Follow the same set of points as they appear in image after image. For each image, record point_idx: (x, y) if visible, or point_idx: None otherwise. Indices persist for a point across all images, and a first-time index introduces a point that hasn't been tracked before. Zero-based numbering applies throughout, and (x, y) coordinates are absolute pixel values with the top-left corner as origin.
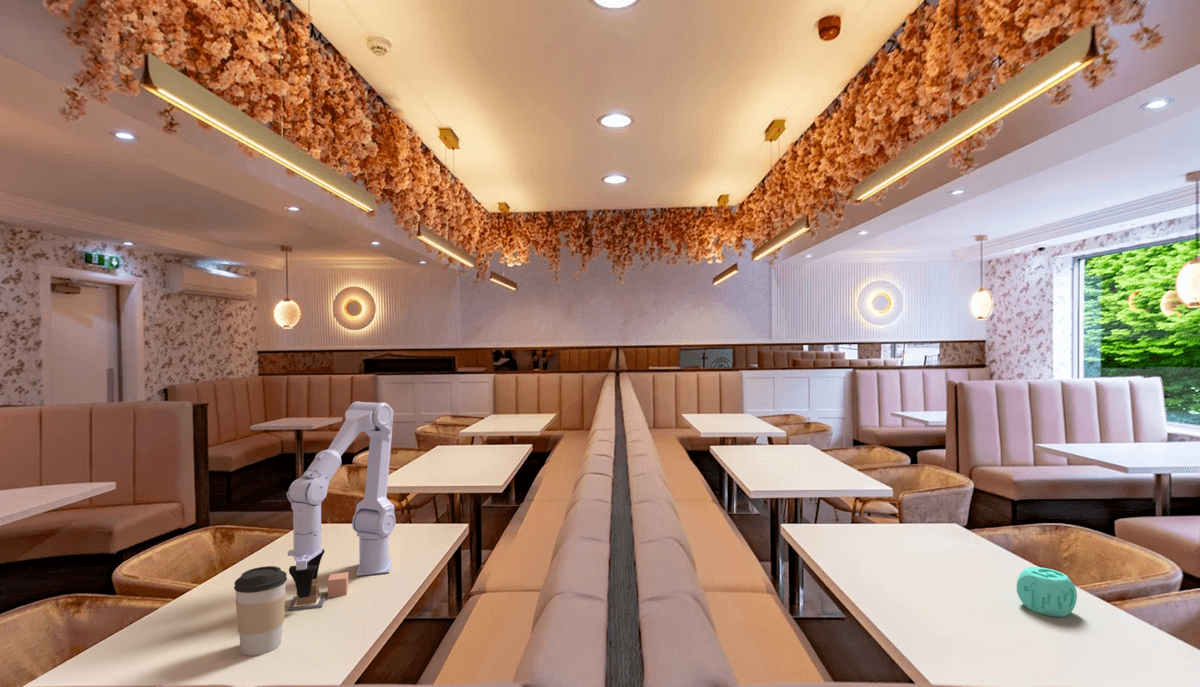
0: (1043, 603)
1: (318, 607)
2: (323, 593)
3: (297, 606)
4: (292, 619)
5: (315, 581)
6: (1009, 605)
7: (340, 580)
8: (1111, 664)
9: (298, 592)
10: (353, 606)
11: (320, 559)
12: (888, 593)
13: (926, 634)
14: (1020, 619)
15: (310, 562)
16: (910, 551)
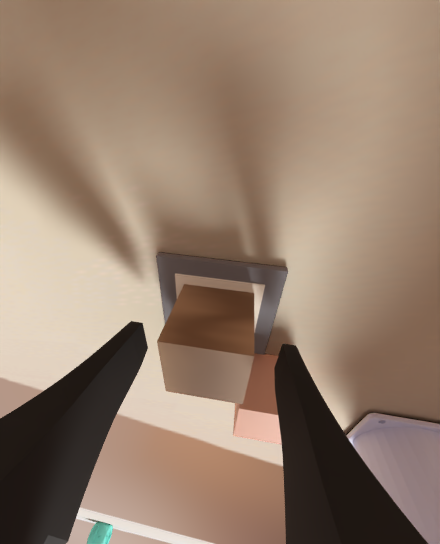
0: (95, 529)
1: None
2: (263, 348)
3: (176, 285)
4: (92, 270)
5: (213, 393)
6: (108, 523)
7: (235, 422)
8: None
9: (112, 340)
10: (159, 381)
11: (286, 534)
12: (125, 522)
13: (79, 509)
14: (95, 519)
15: (300, 500)
16: (177, 540)
